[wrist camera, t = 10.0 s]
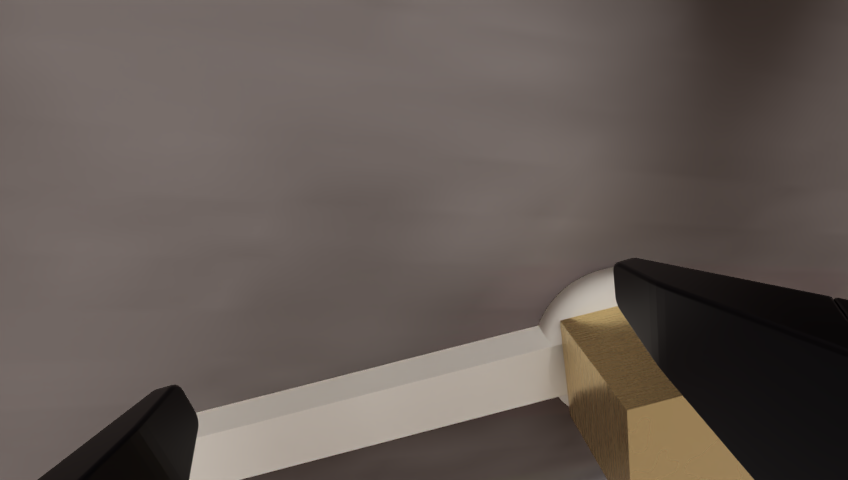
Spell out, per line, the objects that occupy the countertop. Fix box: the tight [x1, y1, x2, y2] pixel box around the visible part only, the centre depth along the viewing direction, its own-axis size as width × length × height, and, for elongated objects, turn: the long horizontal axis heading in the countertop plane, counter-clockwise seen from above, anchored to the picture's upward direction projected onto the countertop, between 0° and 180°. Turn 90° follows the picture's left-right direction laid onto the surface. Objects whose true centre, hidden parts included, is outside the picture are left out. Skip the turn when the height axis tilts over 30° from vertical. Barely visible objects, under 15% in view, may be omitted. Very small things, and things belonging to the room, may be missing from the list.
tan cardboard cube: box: [560, 306, 754, 480], centre depth 20 cm, size 6×6×6 cm
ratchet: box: [189, 267, 618, 480], centre depth 22 cm, size 28×8×6 cm, turn 102°
